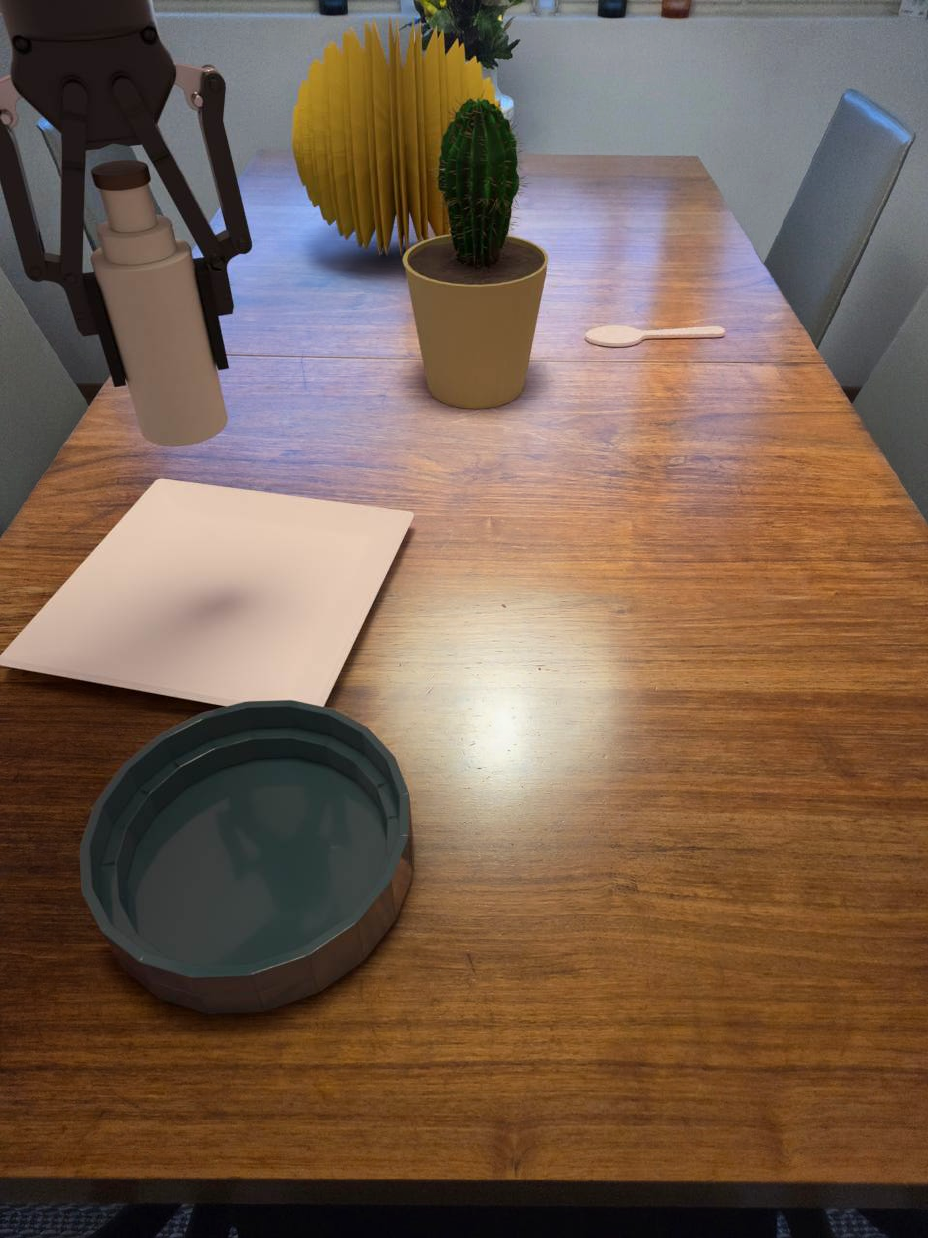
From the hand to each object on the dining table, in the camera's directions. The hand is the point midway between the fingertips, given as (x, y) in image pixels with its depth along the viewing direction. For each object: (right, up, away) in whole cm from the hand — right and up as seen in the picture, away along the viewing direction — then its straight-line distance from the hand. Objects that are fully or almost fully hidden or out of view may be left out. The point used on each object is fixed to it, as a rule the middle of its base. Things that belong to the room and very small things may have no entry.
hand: (170, 368), depth 59 cm
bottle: (0, -3, +3) cm, 4 cm away
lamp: (+11, +39, +75) cm, 86 cm away
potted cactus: (+21, +10, +43) cm, 49 cm away
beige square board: (0, -15, +16) cm, 22 cm away
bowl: (+7, -33, -4) cm, 34 cm away
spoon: (+44, +19, +52) cm, 71 cm away
